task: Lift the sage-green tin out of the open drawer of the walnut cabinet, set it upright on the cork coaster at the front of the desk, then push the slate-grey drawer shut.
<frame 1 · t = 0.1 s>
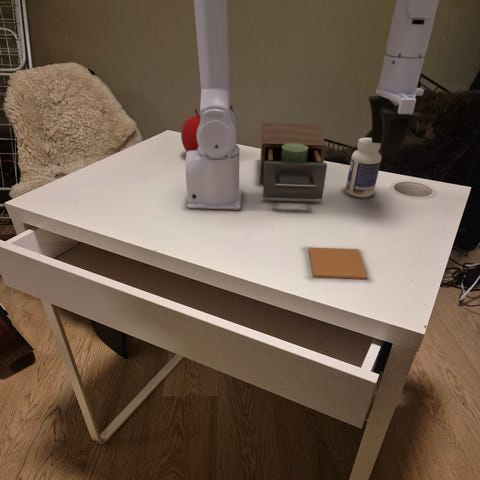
hand: (382, 149, 70), 10 cm above the table, tool pointing down, fingers open, 7 cm apart
drawer: (292, 173, 78), point 4 cm above the table, slide at 7.0 cm, touching tin
coaster: (336, 263, 61), on the table
cabinet: (288, 173, 88), on the table
tin: (291, 182, 79), point 2 cm above the table, touching drawer
apple: (202, 156, 96), on the table
pill bottle: (359, 193, 81), on the table
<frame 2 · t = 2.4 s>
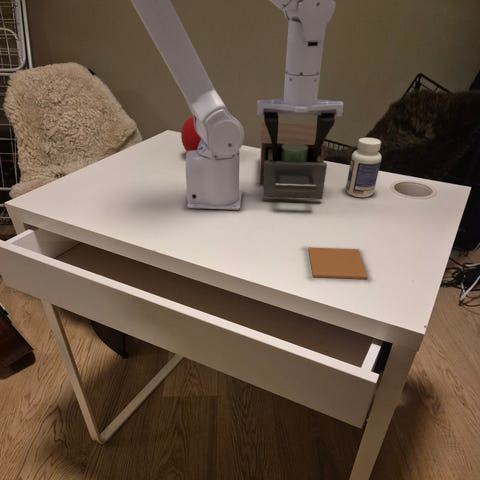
hand: (295, 157, 77), 7 cm above the table, tool pointing down
drawer: (292, 173, 78), point 4 cm above the table, slide at 6.9 cm, touching gripper, tin
everything else where it was.
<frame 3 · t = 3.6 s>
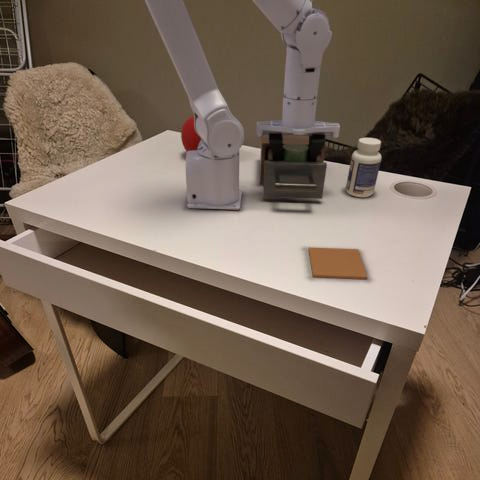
hand: (293, 175, 79), 3 cm above the table, tool pointing down, fingers closed on drawer, tin, 5 cm apart
drawer: (292, 172, 78), point 4 cm above the table, slide at 6.8 cm, touching gripper, tin
tin: (292, 181, 80), point 2 cm above the table, touching drawer, gripper
everything else where it was.
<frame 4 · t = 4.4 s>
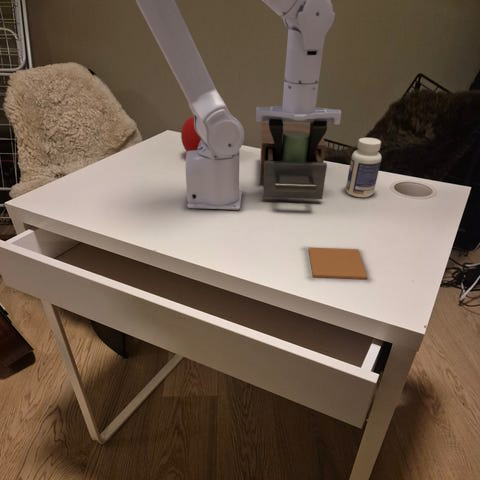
hand: (293, 163, 77), 6 cm above the table, tool pointing down, fingers closed on tin, 5 cm apart
drawer: (292, 173, 78), point 4 cm above the table, slide at 6.9 cm
tin: (292, 170, 78), point 4 cm above the table, touching gripper
everything else where it was.
when the fingers open (2 cm above the table, at t = 9.6 s): tin stays where it is, resting on coaster.
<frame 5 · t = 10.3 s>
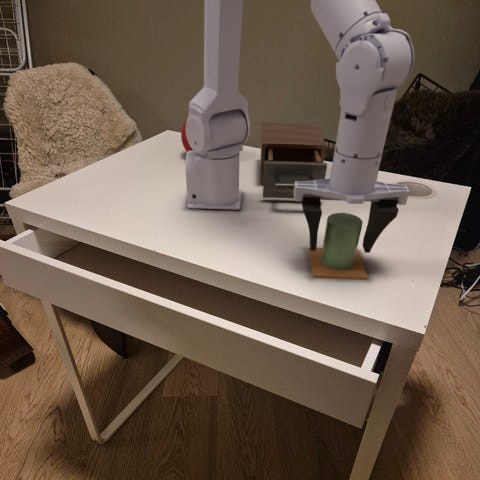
hand: (339, 248, 60), 3 cm above the table, tool pointing down, fingers open, 7 cm apart
tin: (336, 261, 61), resting on coaster
everything else where it was.
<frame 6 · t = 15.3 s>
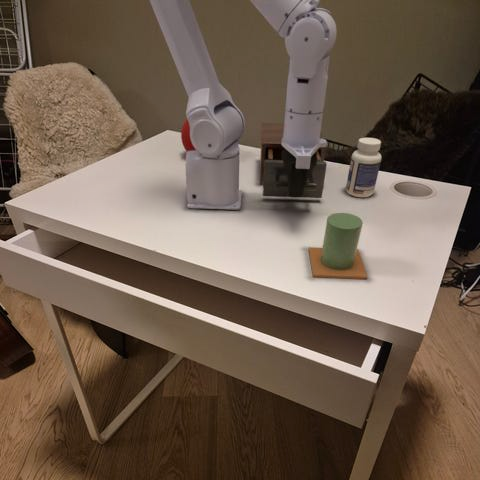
hand: (295, 195, 71), 3 cm above the table, tool pointing down, fingers closed
drawer: (292, 172, 78), point 4 cm above the table, slide at 6.4 cm, touching gripper
everything else where it was.
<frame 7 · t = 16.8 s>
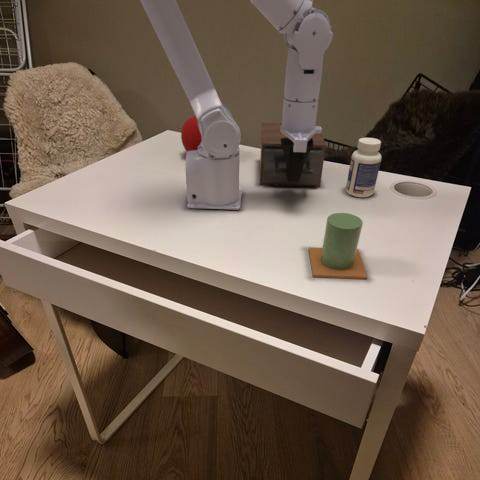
hand: (293, 180, 77), 3 cm above the table, tool pointing down, fingers closed, pressing on drawer
drawer: (291, 160, 83), point 4 cm above the table, slide at 0.0 cm, touching cabinet, gripper
everything else where it was.
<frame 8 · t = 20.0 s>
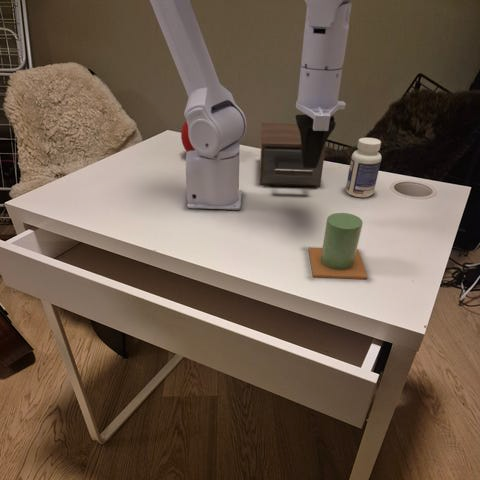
hand: (309, 166, 66), 9 cm above the table, tool pointing down, fingers closed
drawer: (291, 160, 83), point 4 cm above the table, slide at 0.0 cm, touching cabinet
everything else where it was.
at the end: tin 0.1 cm off-centre on the coaster, point 0.4 cm above the coaster's base; tin tilted 0°; drawer slide at 0.0 cm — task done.
